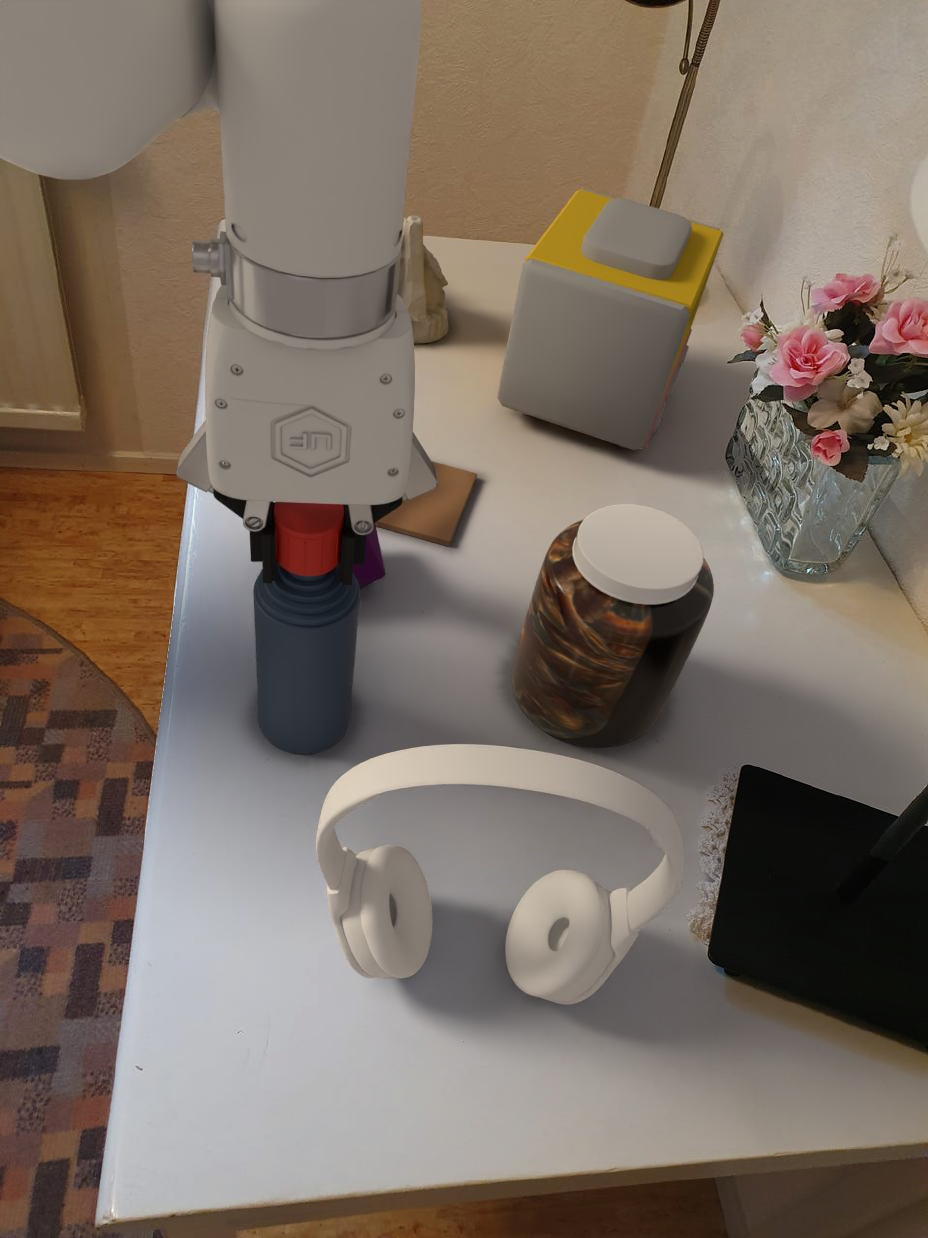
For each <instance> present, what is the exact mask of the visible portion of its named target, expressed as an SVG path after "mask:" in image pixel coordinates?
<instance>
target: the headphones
mask: <svg viewBox="0 0 928 1238" xmlns="http://www.w3.org/2000/svg"><path fill="white" fill-rule="evenodd" d="M434 785H436V786H437V785H477V786H478V785H479V786H493V787H502V788H512V789H520V790H525V791H535V792H538V793H545V794H551V795H556V796H560V797H565V798H569V799H575V800H578V801H582V802H585V803H589V804H592V805H595V806H598V807H602V808H605V809H607V810H609V811H612V812H614V813H618V814H619V815H622V816H625V817H626V818H629V819H631V820H632V821H634V822H636V823H639V824H640V825H642V826H644V827H645V828H646V829H647V830H648V832H649V835H650V836H651V837H652V839H653V840H654V841H655V843H656V844H657V845H658V847H660V848H661V850H662V852H663V853H664V856H663V858H662V860H661V862H660V863H659V865H658V866H657V867H656V869H655V870H653V872H652V873H651V874H649V876H648V877H647V878H645V879H644V880H643V881H642V882H641V883H640V882H639V884H638V885H636V886H635V887H634V888H630V887H628V886H627V887H619V888H616V889H614V890H612V891H611V890H609V889H608V888H606V887H604V886H603V885H602V884H600V883H599V882H597V881H594V879H593V878H592V877H590V876H589V875H587V874H585V873H583V872H580V871H577V870H574V869H558V870H554V871H552V872H549V873H547V874H545V875H543V876H542V877H540V878H539V879H537V880H536V881H535V882H534V883H533V884H532V885H531V886H530V887H529V888H528V890H527V891H526V892H525V893H524V894H523V896H522V897H521V898H520V900H519V902H518V903H517V906H516V907H515V909H514V910H513V911H514V912H513V913H512V916H511V919H510V921H509V924H508V928H507V933H506V939H505V949H504V950H505V961H506V962H505V963H506V967H507V970H508V973H509V976H510V978H511V980H512V981H513V982H514V984H515V986H516V987H517V988H518V989H519V990H521V991H522V992H523V993H525V994H527V995H529V996H532V997H535V998H541V999H543V1000H545V1001H549V1002H554V1003H556V1004H560V1005H574V1004H578V1003H580V1002H583V1001H584V1000H586V999H588V998H590V997H591V996H592V995H593V994H594V993H596V992H597V991H598V990H599V989H600V988H601V987H602V986H603V985H604V983H605V982H606V981H607V980H608V978H609V977H610V976H611V974H612V973H613V972H614V970H615V969H616V967H617V966H618V965H619V964H620V963H621V961H622V960H623V959H624V958H625V957H626V955H627V954H628V952H629V951H630V949H631V948H632V947H633V944H634V943H635V941H636V940H637V938H638V937H639V932H640V930H642V929H643V928H644V927H646V926H647V925H648V924H650V923H651V922H652V921H654V920H655V919H656V918H658V917H659V916H660V915H662V914H663V912H665V911H666V910H667V909H668V908H669V906H670V905H672V904H673V902H674V901H675V899H676V897H677V896H678V894H679V892H680V890H681V888H682V884H683V881H684V875H685V874H684V873H685V860H684V859H685V857H684V847H683V840H682V834H681V829H680V826H679V824H678V821H677V819H676V817H675V815H674V813H673V812H672V811H671V809H670V808H669V807H668V806H667V805H666V803H664V801H663V800H662V799H661V798H660V797H658V796H657V795H656V794H655V793H654V792H652V791H650V790H649V789H648V788H646V787H645V786H644V785H642V784H640V783H638V782H636V781H635V780H633V779H631V778H629V777H627V776H625V775H622V774H620V773H618V772H616V771H613V770H612V769H608V768H606V767H603V766H600V765H598V764H595V763H592V762H588V761H585V760H582V759H578V758H574V757H571V756H566V755H561V754H557V753H552V752H546V751H541V750H534V749H527V748H520V747H512V746H504V745H494V744H475V743H472V744H471V743H454V744H453V743H452V744H451V743H450V744H433V745H423V746H417V747H410V748H406V749H399V750H395V751H391V752H387V753H383V754H380V755H377V756H374V757H371V758H369V759H367V760H363V761H362V762H360V763H358V764H356V765H355V766H353V767H351V768H350V769H348V770H347V771H346V772H345V773H344V774H342V775H341V776H340V777H339V778H338V779H336V781H335V782H334V783H333V785H332V786H331V787H330V789H329V790H328V792H327V794H326V797H325V799H324V801H323V804H322V808H321V812H320V815H319V819H318V826H317V830H316V837H315V855H316V860H317V864H318V867H319V869H320V872H321V875H322V876H323V878H324V881H325V883H326V895H327V896H326V897H327V904H328V910H329V915H330V919H331V923H332V925H333V929H334V931H335V935H336V938H337V941H338V944H339V946H340V949H341V951H342V953H343V956H344V958H345V960H346V961H347V963H348V964H349V966H350V968H352V969H353V970H354V971H355V972H356V973H357V974H358V975H360V976H361V977H364V978H366V979H375V978H377V979H389V978H396V979H406V978H410V977H412V976H413V975H415V974H417V972H419V970H420V969H421V968H422V966H423V965H424V963H425V961H426V959H427V957H428V954H429V951H430V946H431V942H432V937H433V907H432V900H431V895H430V894H431V893H430V890H429V886H428V882H427V880H426V877H425V873H424V872H423V870H422V867H421V865H420V864H419V862H418V860H417V859H416V858H415V856H414V855H413V854H412V853H411V852H410V851H409V850H408V849H406V847H405V848H404V847H403V846H401V845H397V844H385V845H381V846H377V847H376V848H369V849H365V850H363V851H357V852H354V851H353V850H352V849H350V848H348V847H342V845H341V842H340V840H339V838H338V835H337V832H336V826H337V825H338V823H339V822H340V821H342V819H343V818H345V817H346V816H347V815H348V814H350V813H351V812H353V811H354V810H356V809H358V808H360V807H362V806H364V805H367V804H369V803H372V802H373V801H375V800H377V799H378V798H379V797H380V796H381V795H383V793H385V792H391V791H393V790H394V791H395V790H399V789H407V788H413V787H421V786H423V787H424V786H434Z"/></svg>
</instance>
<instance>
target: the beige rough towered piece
mask: <svg viewBox="0 0 928 1238" xmlns="http://www.w3.org/2000/svg"><path fill="white" fill-rule="evenodd" d="M437 259H438V258H436V257H435V256H434V254H433V253H432V252H431V251H430V250H429V249H427V247H426V245H425V244H424V221H423V219H422V218H421V217H420V216H418V215H409V216H407V217H405V216H404V223H403V234H402V246H401V257H400V268H399V279H398V290H397V294H398V295H399V296H400V297H401V298H402V299H403V300H404V302H405V304H406V306H407V309H408V313H409V315H410V318H411V324H412V331H413V340H414V345H416V344H427V343H430V344H431V343H434V342H437V341H439V340H441V339H442V338H444V337H445V336H447V334H448V332H449V329H450V327H449V322H448V315H449V314H448V309H447V304H446V291H445V290H444V288H445V287H446V286H447V285H449V281H448V280H446V276H444V274H443V271H442V268H441V265H440V263H439V260H437Z"/></svg>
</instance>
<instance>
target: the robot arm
mask: <svg viewBox="0 0 928 1238" xmlns="http://www.w3.org/2000/svg"><path fill="white" fill-rule="evenodd" d="M422 17H423V7H422V0H0V159H2V160H4V161H5V162H7V163H8V164H9V163H10V164H12V165H14V166H16V167H18V168H21V169H23V170H25V171H28V172H30V173H33V174H36V175H40V176H44V177H48V178H52V179H55V180H56V179H57V180H64V181H73V180H74V181H79V180H80V181H83V180H92V179H95V178H98V177H101V176H104V175H108V174H110V173H113V172H115V171H117V170H119V169H121V168H122V167H123V166H125V165H126V164H128V163H129V162H130V161H132V160H134V159H135V158H137V156H139V155H140V154H142V153H143V152H144V151H145V150H146V149H147V148H148V147H149V146H151V145H152V144H153V143H154V142H155V141H156V140H157V139H158V138H159V137H161V135H163V134H164V133H165V132H167V130H169V129H170V128H171V127H172V126H173V125H174V124H175V123H176V122H178V121H179V120H181V119H185V118H188V117H191V116H193V115H197V114H200V113H203V112H206V111H209V110H211V111H213V112H216V113H217V114H218V115H219V128H220V129H219V131H220V147H221V148H220V153H221V165H222V166H221V168H222V187H223V189H222V190H223V204H224V206H223V207H224V221H225V231H220V233H219V238H217V237H216V238H214V237H210V241H209V240H199V239H192V243H191V261H192V263H191V264H192V270H193V271H192V272H193V273H197V274H209V275H210V277H211V278H219V280H220V287H219V288H218V290H217V291H216V294H215V298H214V301H213V302H212V306H211V311H210V315H209V322H208V327H207V328H208V329H207V336H206V347H205V364H204V365H205V367H204V383H205V384H204V389H205V390H204V395H205V396H204V401H205V402H204V410H205V413H204V415H205V419H204V421H203V422H202V424H201V425H200V427H199V428H198V430H197V431H196V432H195V434H194V435H193V436H192V438H191V439H190V440H189V442H188V443H187V444H186V446H185V447H184V448H183V450H182V451H181V452H180V454H179V455H178V458H177V463H176V470H175V474H176V477H177V479H179V480H181V481H182V482H184V483H186V484H189V485H191V486H192V487H194V488H195V489H196V488H197V489H199V490H200V491H202V492H205V493H211V494H212V495H213V497H214V499H215V500H216V501H218V502H219V504H222V505H223V506H224V507H226V508H227V509H229V510H230V511H231V512H232V513H234V514H235V515H236V516H238V517H239V518H240V519H242V526H243V527H244V528H245V529H246V530H247V531H249V551H250V562H251V563H262V569H263V583H272V581H276V563H277V560H276V546H275V524H274V516H273V514H274V511H273V510H274V505H275V503H276V502H294V503H320V504H345V505H343V507H344V522H345V523H344V524H343V527H342V539H341V556H340V562H339V577H340V583H343V585H352V576H353V564H356V565H364V563H365V551H366V539H367V534H369V533H371V532H372V531H373V529H374V523H376V522H377V521H379V520H380V519H382V518H383V517H385V516H386V515H388V514H389V513H391V512H392V511H394V510H395V509H397V508H398V507H399V506H401V504H402V502H403V501H405V500H407V499H408V500H411V499H414V498H416V497H418V496H421V495H423V494H425V493H428V492H430V491H433V490H434V489H436V487H437V484H438V482H437V474H436V468H435V466H434V465H433V463H432V459H431V458H430V456H429V455H428V453H427V452H426V450H425V448H424V447H423V446H422V444H421V442H420V440H419V439H418V437H417V435H416V433H414V419H415V417H414V416H415V394H416V393H415V392H416V359H415V358H416V357H415V344H414V340H413V331H412V324H411V318H410V315H409V313H408V309H407V306H406V304H405V302H404V300H403V299H402V298H401V297H400V296H399V295H398V294H397V290H398V279H399V268H400V257H401V246H402V234H403V223H404V217H405V212H406V211H405V209H406V201H407V189H408V188H407V187H408V178H409V167H410V166H409V165H410V156H411V155H410V154H411V143H412V135H413V134H412V133H413V123H414V113H415V112H414V111H415V102H416V101H415V100H416V90H417V82H418V81H417V79H418V69H419V60H420V59H419V58H420V50H421V49H420V47H421V37H422V19H423V18H422ZM393 469H394V470H393ZM392 470H393V472H392Z"/></svg>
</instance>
